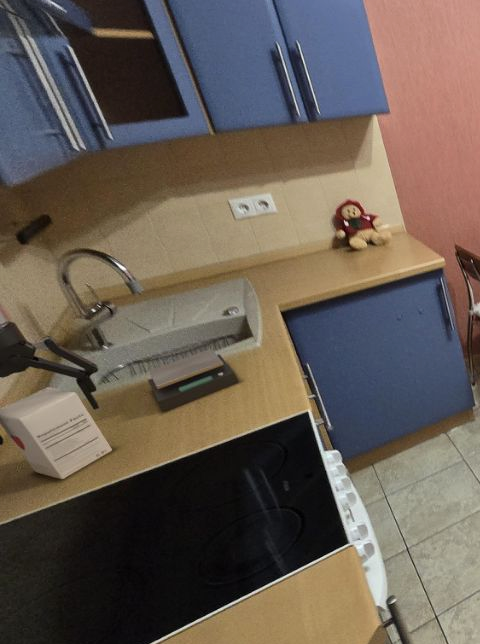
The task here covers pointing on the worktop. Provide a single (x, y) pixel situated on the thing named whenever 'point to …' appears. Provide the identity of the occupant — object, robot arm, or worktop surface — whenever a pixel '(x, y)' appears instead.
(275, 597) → the worktop surface
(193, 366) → the scale pan
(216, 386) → the scale base
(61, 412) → the rectangular carton
